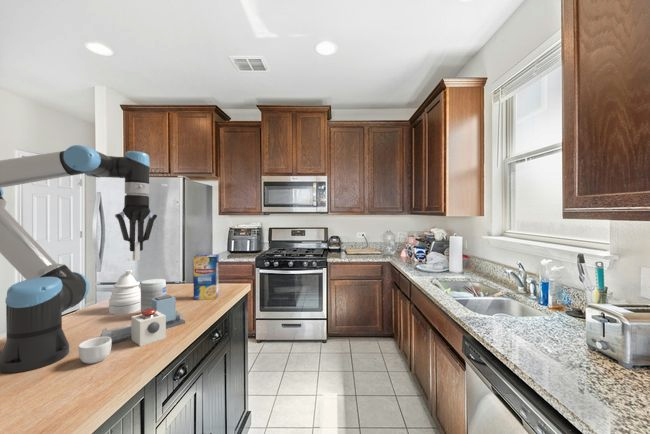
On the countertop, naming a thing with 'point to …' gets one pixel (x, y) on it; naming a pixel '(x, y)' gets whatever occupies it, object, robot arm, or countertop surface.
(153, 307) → the carriage
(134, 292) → the honey pot
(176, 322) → the rail
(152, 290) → the supplement tub
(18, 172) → the robot arm
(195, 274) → the blue cardboard box
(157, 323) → the white push button housing
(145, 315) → the plunger
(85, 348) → the teacup
